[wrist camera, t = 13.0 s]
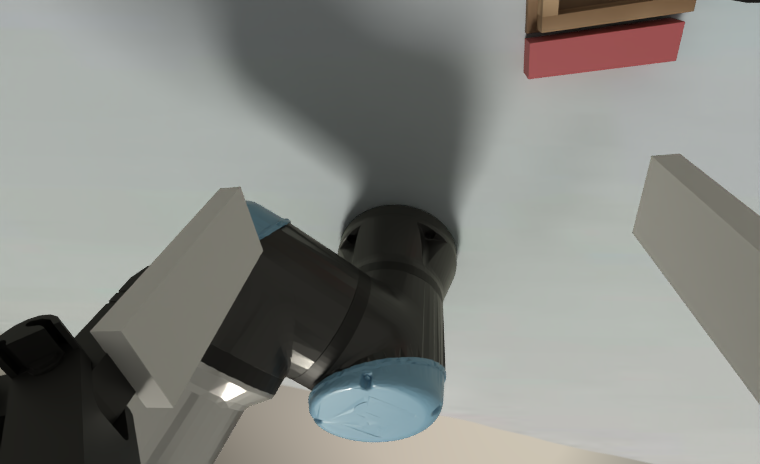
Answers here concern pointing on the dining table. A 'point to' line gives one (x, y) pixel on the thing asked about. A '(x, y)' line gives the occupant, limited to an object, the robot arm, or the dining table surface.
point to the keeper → (595, 12)
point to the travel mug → (749, 1)
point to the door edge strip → (603, 48)
